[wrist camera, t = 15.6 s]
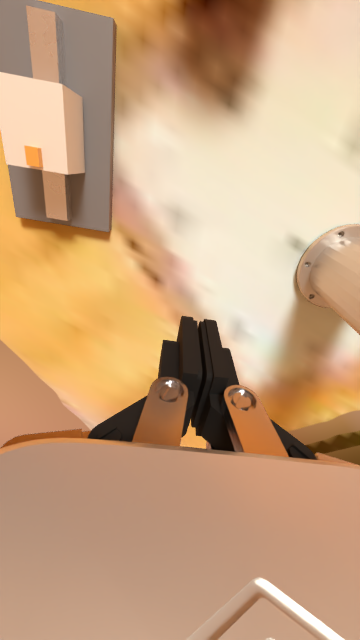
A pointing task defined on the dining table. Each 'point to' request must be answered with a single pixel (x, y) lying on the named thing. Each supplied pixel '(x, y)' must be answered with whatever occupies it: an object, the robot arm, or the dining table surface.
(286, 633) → the robot arm
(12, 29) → the mounting board
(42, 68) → the rail
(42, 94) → the block
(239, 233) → the dining table surface
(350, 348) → the dining table surface
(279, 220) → the dining table surface
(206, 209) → the dining table surface
